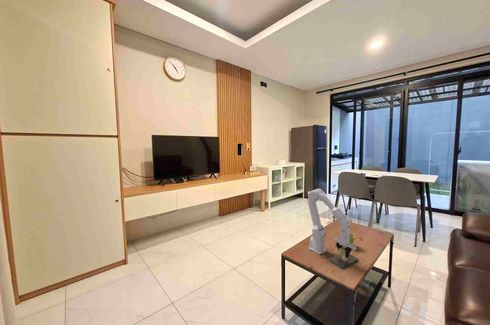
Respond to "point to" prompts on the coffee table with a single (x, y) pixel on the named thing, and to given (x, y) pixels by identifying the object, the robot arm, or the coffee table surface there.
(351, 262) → the slotted plate
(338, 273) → the coffee table surface
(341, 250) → the birch peg
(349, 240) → the plant pot
